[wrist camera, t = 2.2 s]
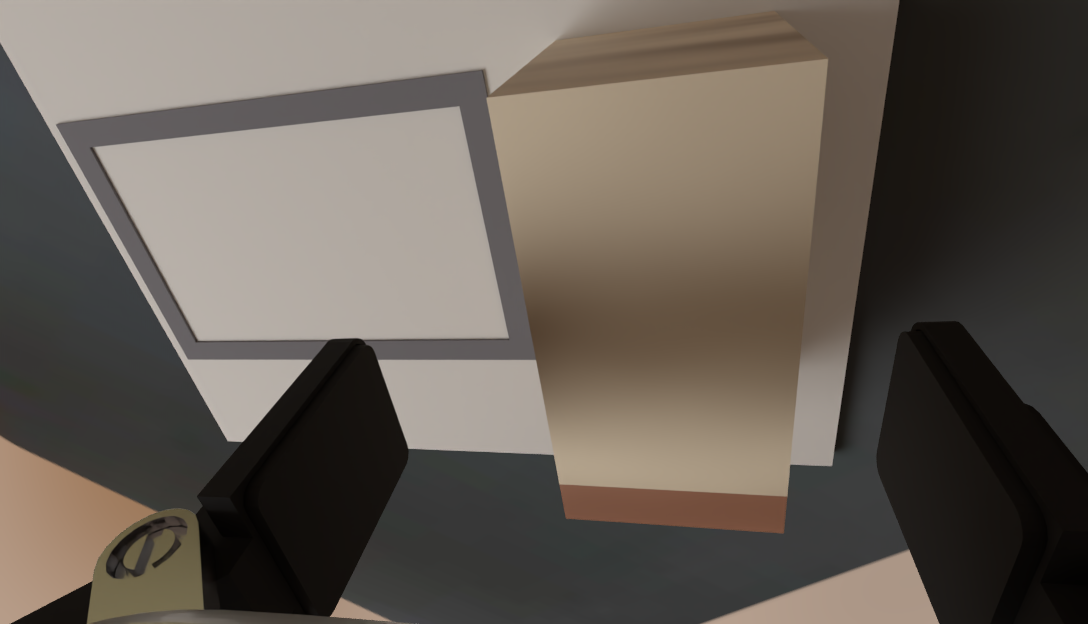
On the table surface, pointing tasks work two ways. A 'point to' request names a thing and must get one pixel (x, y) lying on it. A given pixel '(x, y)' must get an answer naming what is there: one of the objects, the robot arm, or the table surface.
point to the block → (667, 261)
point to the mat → (385, 187)
